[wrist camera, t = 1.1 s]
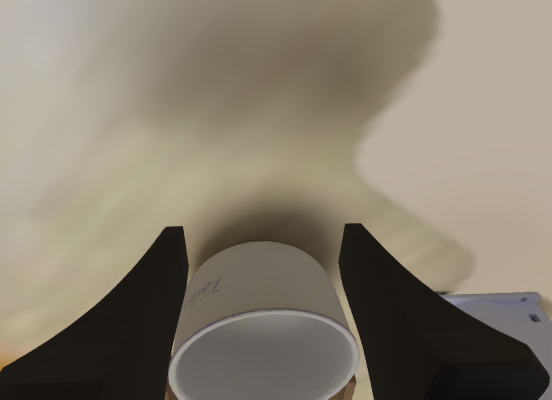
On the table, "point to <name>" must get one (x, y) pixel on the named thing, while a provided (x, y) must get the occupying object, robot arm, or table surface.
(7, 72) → the table surface
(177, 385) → the teacup
